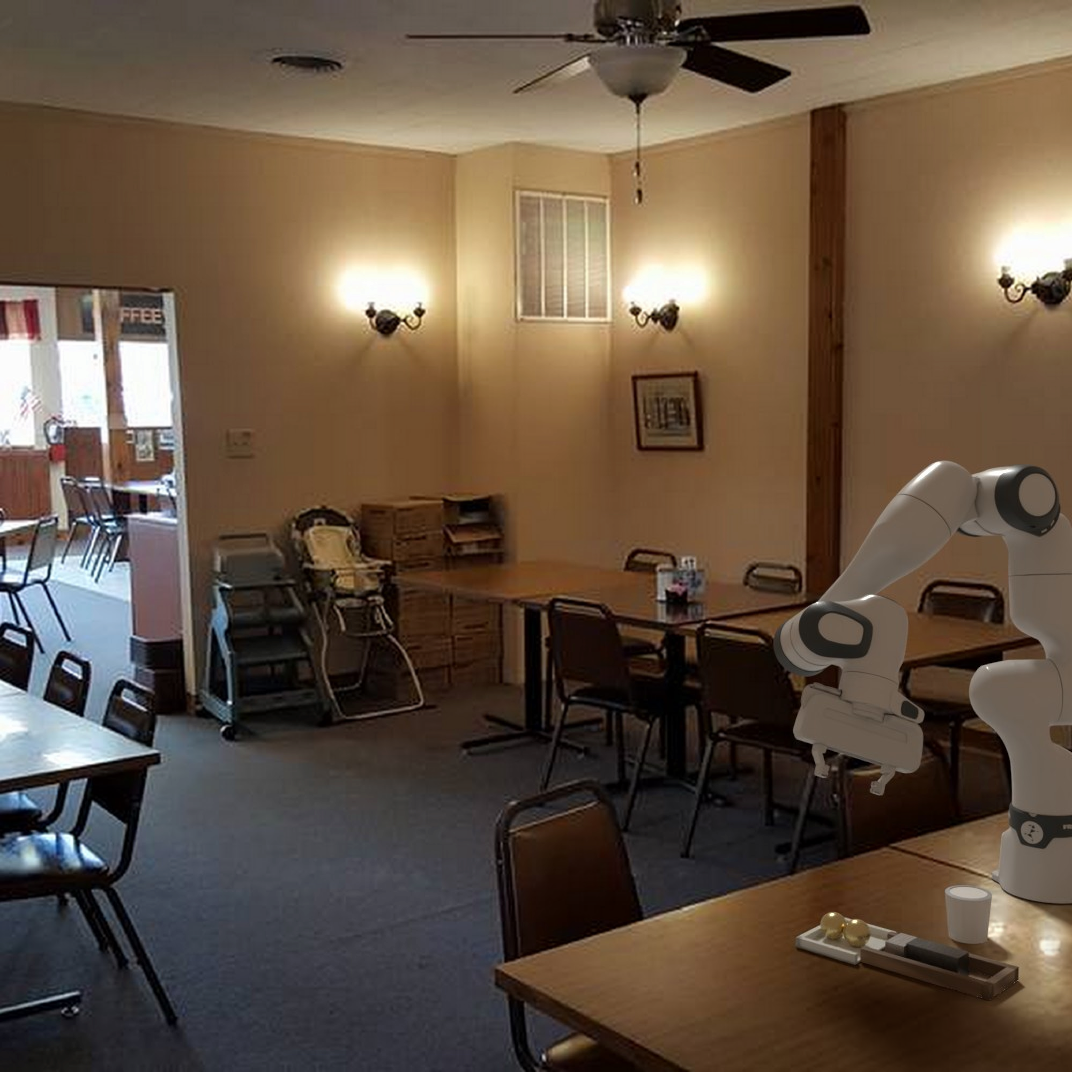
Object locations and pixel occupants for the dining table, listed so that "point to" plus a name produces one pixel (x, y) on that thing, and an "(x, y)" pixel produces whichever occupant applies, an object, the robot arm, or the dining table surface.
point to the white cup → (968, 913)
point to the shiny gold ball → (833, 925)
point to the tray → (840, 943)
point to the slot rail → (947, 972)
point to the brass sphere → (856, 932)
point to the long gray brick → (929, 953)
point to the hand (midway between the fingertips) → (848, 785)
